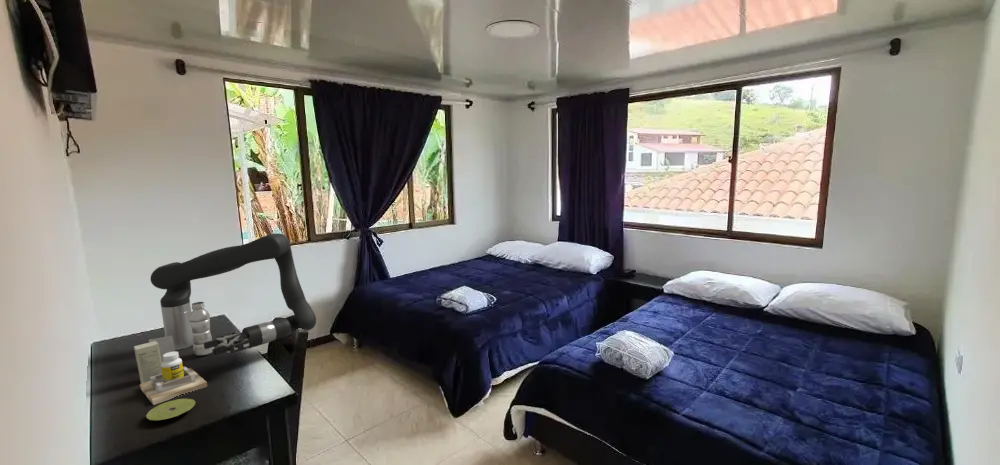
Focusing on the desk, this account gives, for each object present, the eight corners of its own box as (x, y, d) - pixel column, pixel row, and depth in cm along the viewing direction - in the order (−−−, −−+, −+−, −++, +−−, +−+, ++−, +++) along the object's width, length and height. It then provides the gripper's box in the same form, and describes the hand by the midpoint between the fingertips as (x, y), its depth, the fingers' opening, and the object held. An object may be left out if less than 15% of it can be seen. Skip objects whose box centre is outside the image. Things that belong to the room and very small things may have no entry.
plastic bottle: (215, 354, 166) (208, 303, 163) (193, 359, 162) (186, 307, 159) (214, 349, 171) (208, 299, 168) (193, 353, 167) (186, 302, 164)
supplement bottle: (173, 387, 138) (169, 358, 136) (159, 386, 139) (154, 356, 138) (188, 379, 143) (184, 350, 142) (175, 378, 144) (171, 349, 143)
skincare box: (162, 374, 151) (157, 340, 149) (164, 378, 148) (159, 343, 146) (138, 380, 147) (133, 345, 145) (140, 385, 143) (134, 349, 142)
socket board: (140, 388, 141) (138, 376, 140) (191, 372, 152) (190, 361, 151) (153, 405, 131) (151, 392, 130) (207, 386, 141) (205, 374, 141)
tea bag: (175, 363, 159) (171, 337, 158) (152, 368, 156) (148, 341, 154) (176, 359, 162) (172, 334, 161) (153, 364, 159) (149, 338, 157)
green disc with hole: (184, 400, 133) (183, 394, 133) (204, 410, 127) (203, 404, 127) (139, 419, 123) (138, 413, 123) (158, 430, 118) (157, 424, 117)
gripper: (250, 320, 164) (199, 333, 152) (266, 328, 155) (214, 343, 143) (252, 339, 165) (202, 354, 153) (268, 349, 156) (217, 365, 144)
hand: (208, 349), depth 148 cm, fingers open, 8 cm apart
